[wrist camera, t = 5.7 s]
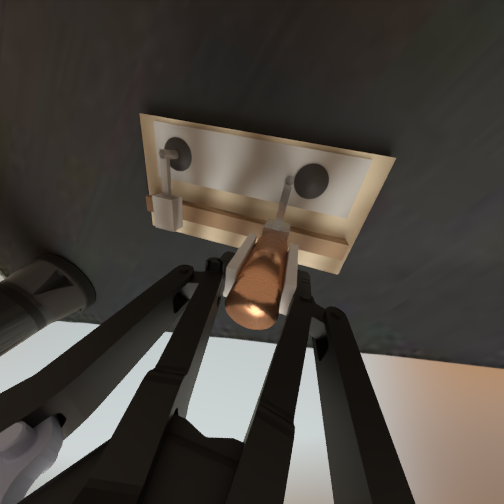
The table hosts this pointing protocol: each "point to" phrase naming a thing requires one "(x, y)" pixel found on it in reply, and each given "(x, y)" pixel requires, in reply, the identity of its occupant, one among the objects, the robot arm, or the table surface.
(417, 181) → the table surface
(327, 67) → the table surface
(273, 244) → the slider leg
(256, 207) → the holed mounting plate
